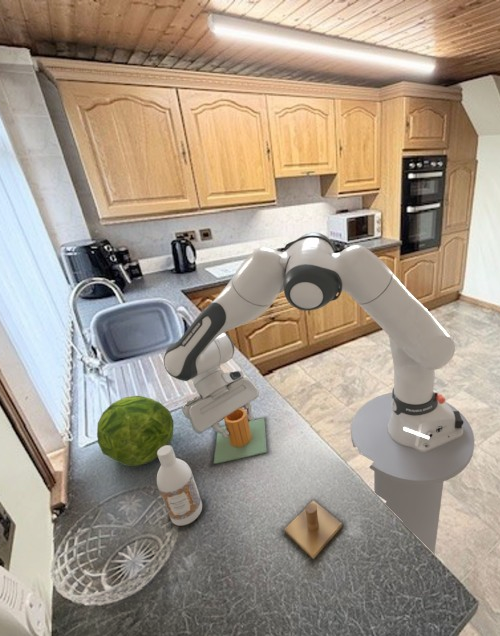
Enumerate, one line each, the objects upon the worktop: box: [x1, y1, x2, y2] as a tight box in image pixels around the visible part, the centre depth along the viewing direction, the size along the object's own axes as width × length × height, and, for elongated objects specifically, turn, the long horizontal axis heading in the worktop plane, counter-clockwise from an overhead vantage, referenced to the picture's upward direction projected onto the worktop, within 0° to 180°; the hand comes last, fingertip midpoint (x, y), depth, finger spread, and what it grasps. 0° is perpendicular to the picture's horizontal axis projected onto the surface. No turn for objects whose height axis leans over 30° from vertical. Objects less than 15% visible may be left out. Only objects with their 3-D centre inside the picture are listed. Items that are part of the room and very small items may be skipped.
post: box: [283, 499, 343, 560], centre depth 75 cm, size 9×9×7 cm
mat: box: [213, 418, 268, 465], centre depth 101 cm, size 14×14×1 cm
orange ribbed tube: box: [223, 407, 251, 447], centre depth 99 cm, size 6×6×9 cm
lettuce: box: [96, 395, 174, 467], centre depth 96 cm, size 17×23×17 cm
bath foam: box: [156, 444, 203, 527], centre depth 77 cm, size 7×7×20 cm
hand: (239, 428), depth 99 cm, fingers open, 7 cm apart
